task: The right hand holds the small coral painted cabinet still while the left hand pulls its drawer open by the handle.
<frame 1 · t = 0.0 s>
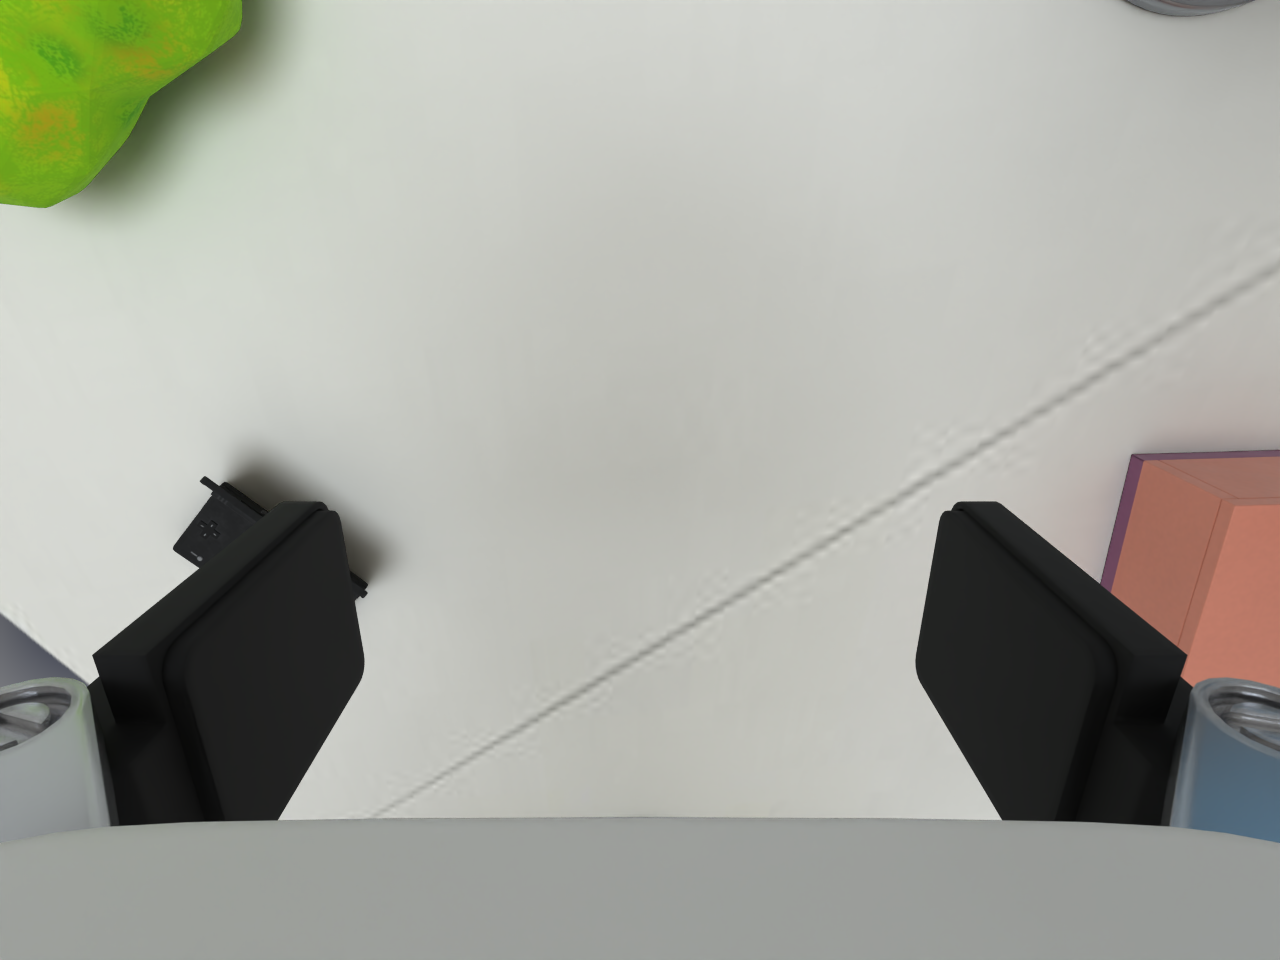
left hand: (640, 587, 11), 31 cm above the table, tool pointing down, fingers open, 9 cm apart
handheld gaming console: (290, 545, 45), on the table
decorative tree: (6, 30, 35), on the table
cabinet: (1177, 569, 46), on the table
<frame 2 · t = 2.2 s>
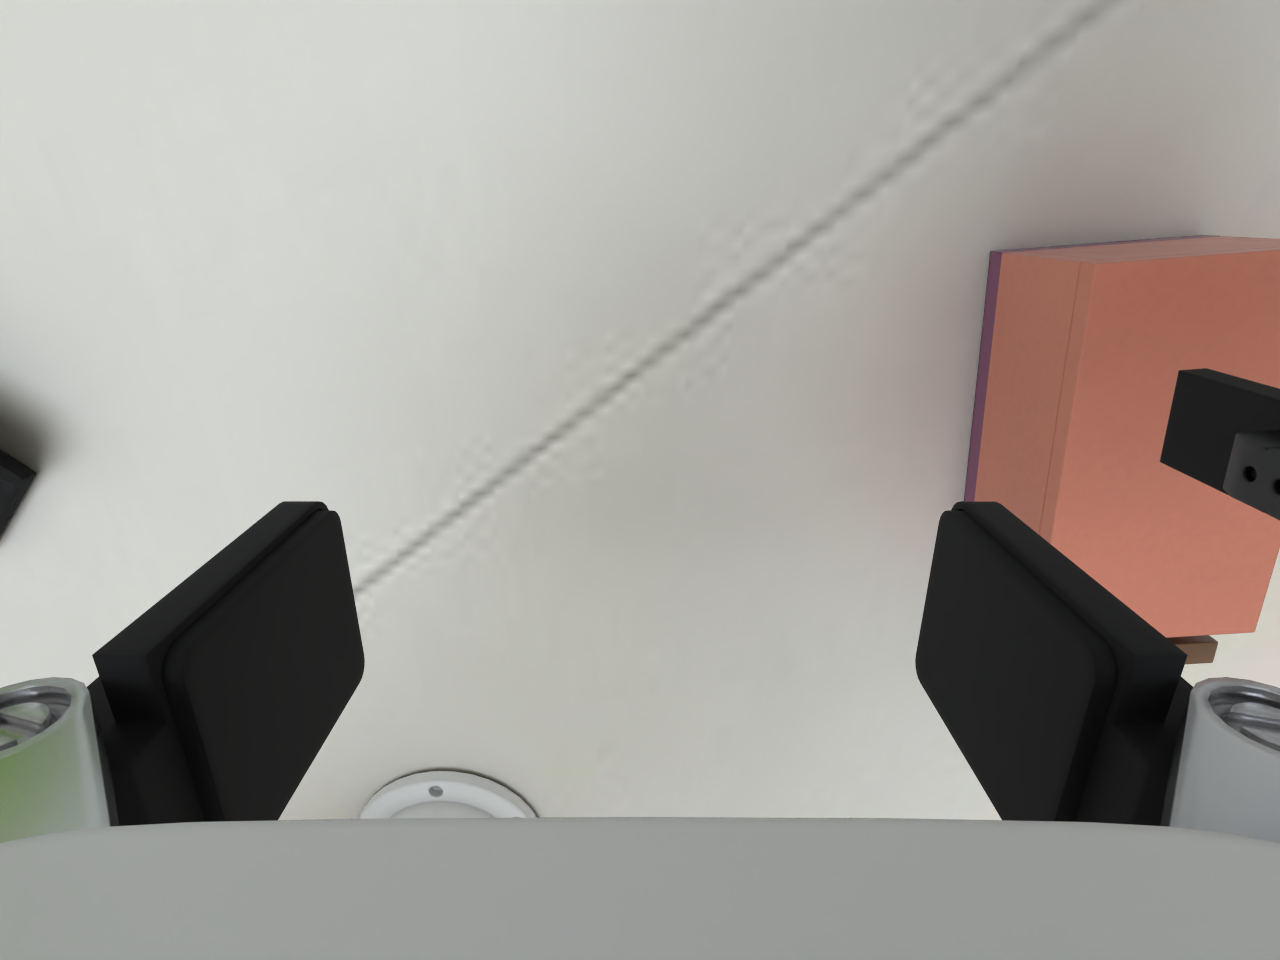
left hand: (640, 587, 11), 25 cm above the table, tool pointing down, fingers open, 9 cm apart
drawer: (1097, 551, 34), point 4 cm above the table, slide at 1.1 cm
cabinet: (1069, 413, 35), on the table
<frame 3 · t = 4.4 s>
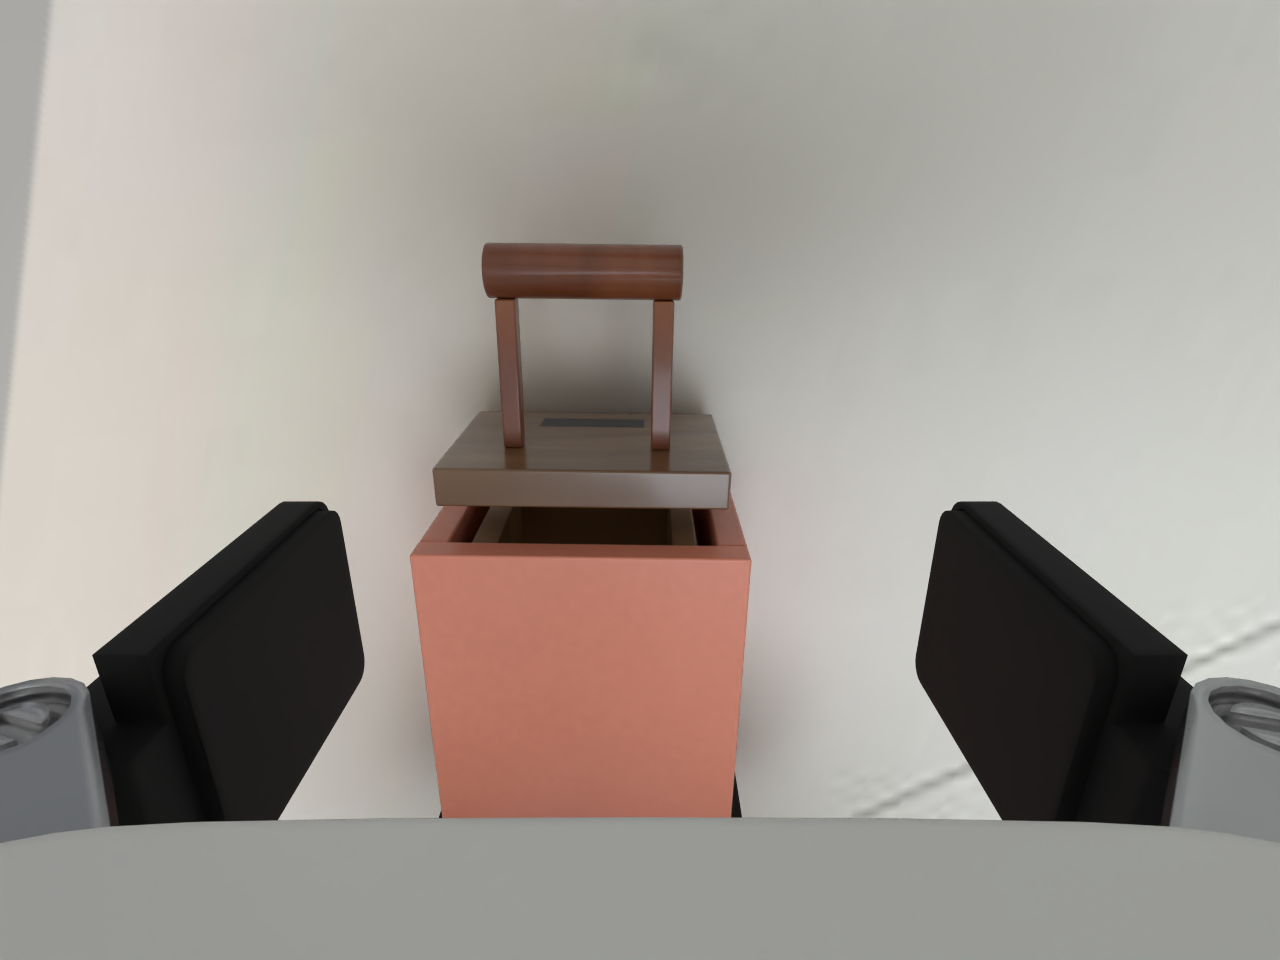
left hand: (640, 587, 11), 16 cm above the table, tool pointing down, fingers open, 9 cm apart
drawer: (591, 564, 24), point 4 cm above the table, slide at 1.1 cm
cabinet: (600, 640, 30), on the table, touching right hand
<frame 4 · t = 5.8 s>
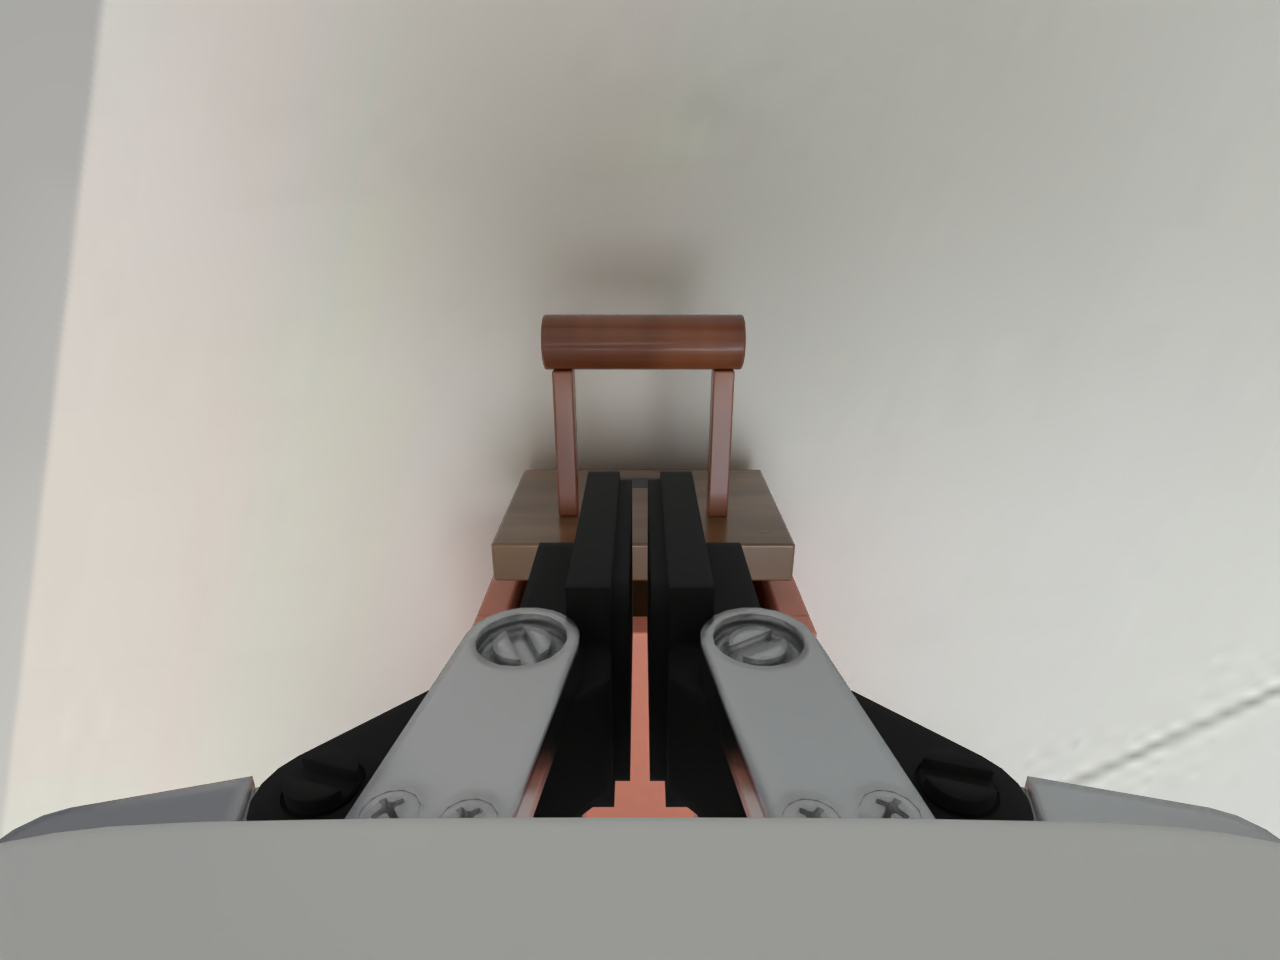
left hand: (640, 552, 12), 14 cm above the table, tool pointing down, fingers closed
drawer: (642, 625, 24), point 4 cm above the table, slide at 1.1 cm
cabinet: (642, 690, 30), on the table, touching right hand
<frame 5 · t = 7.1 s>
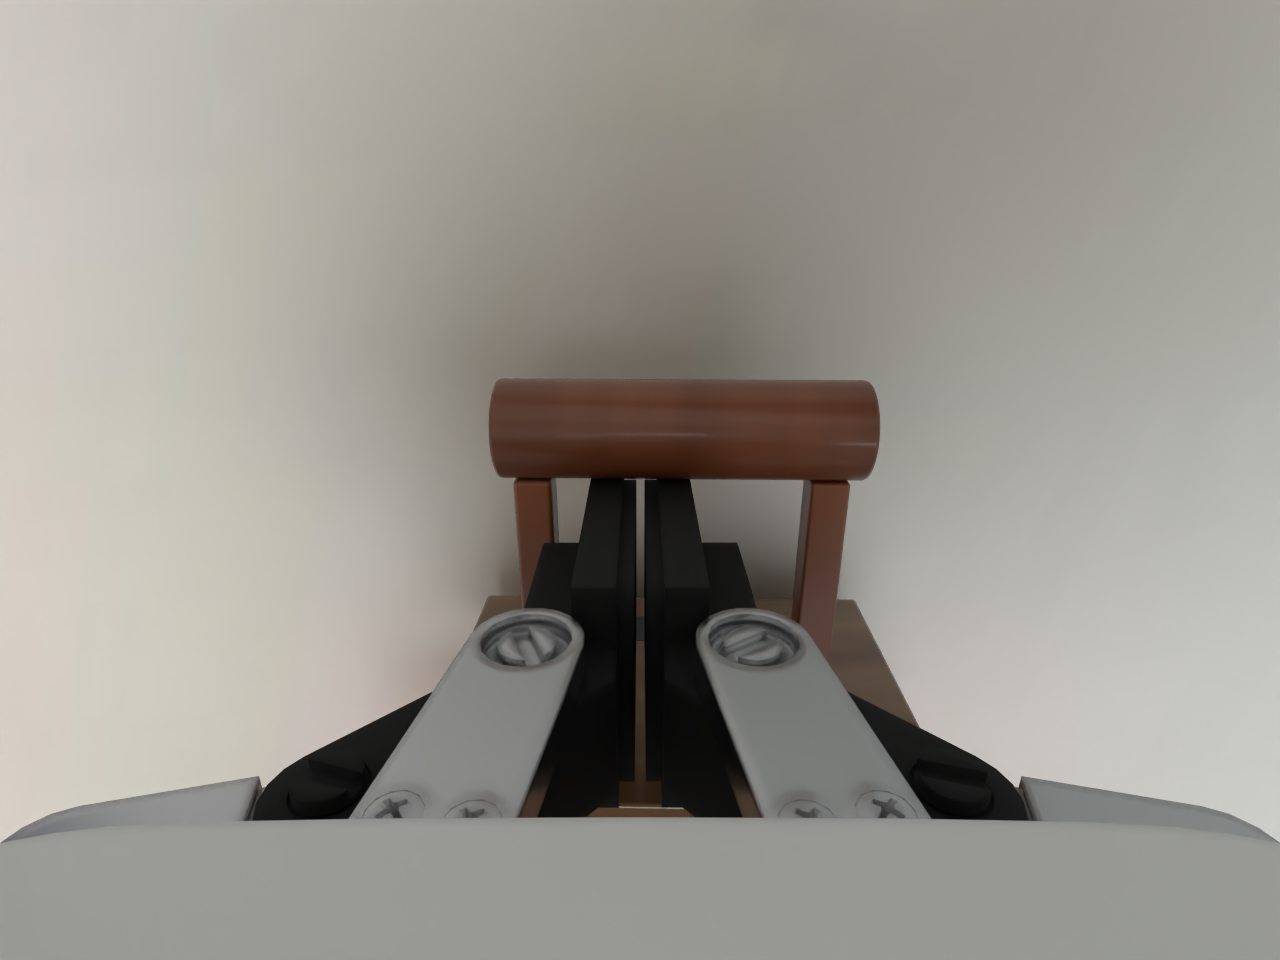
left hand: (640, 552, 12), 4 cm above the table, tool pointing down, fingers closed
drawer: (669, 855, 15), point 4 cm above the table, slide at 1.1 cm, touching left hand
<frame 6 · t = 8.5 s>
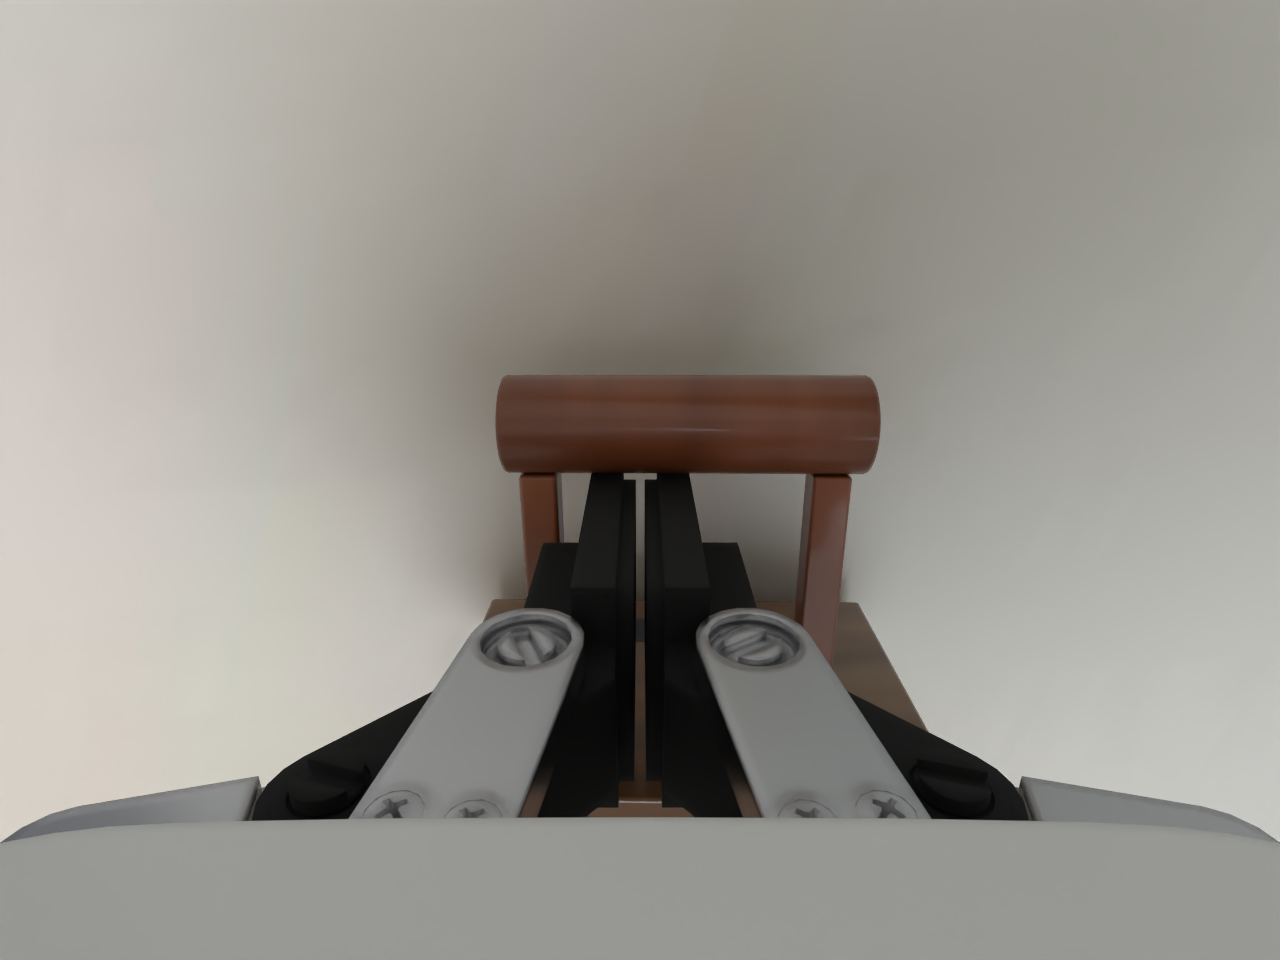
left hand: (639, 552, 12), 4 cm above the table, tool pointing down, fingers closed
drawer: (674, 860, 15), point 4 cm above the table, slide at 7.5 cm, touching left hand
when the right hand's fingers open (3 cm above the table, at t = 10.4 s): cabinet stays where it is, on the table.
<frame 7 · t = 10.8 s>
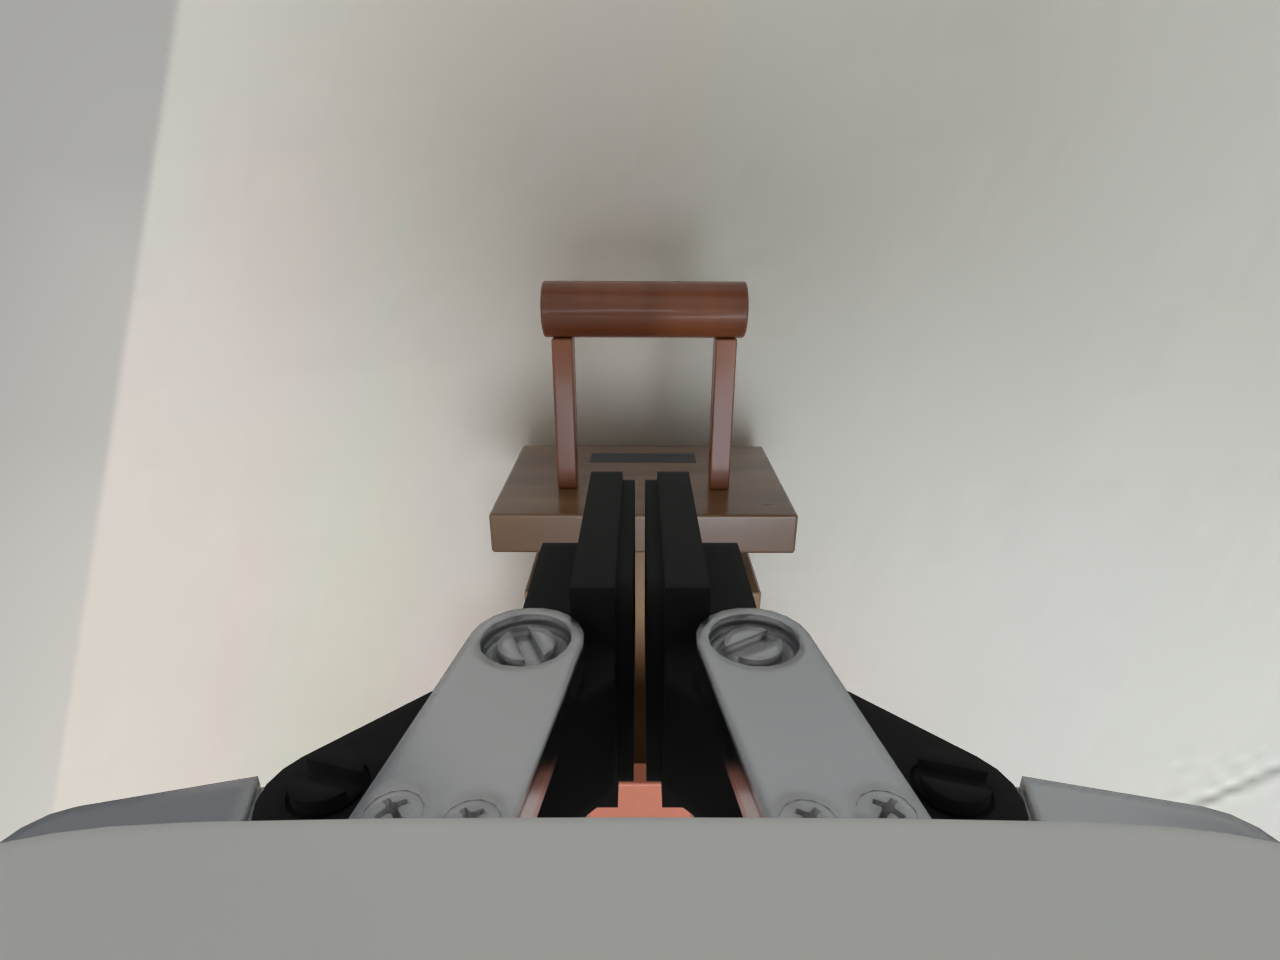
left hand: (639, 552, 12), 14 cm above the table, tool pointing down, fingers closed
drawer: (642, 602, 24), point 4 cm above the table, slide at 7.5 cm
cabinet: (640, 788, 32), on the table
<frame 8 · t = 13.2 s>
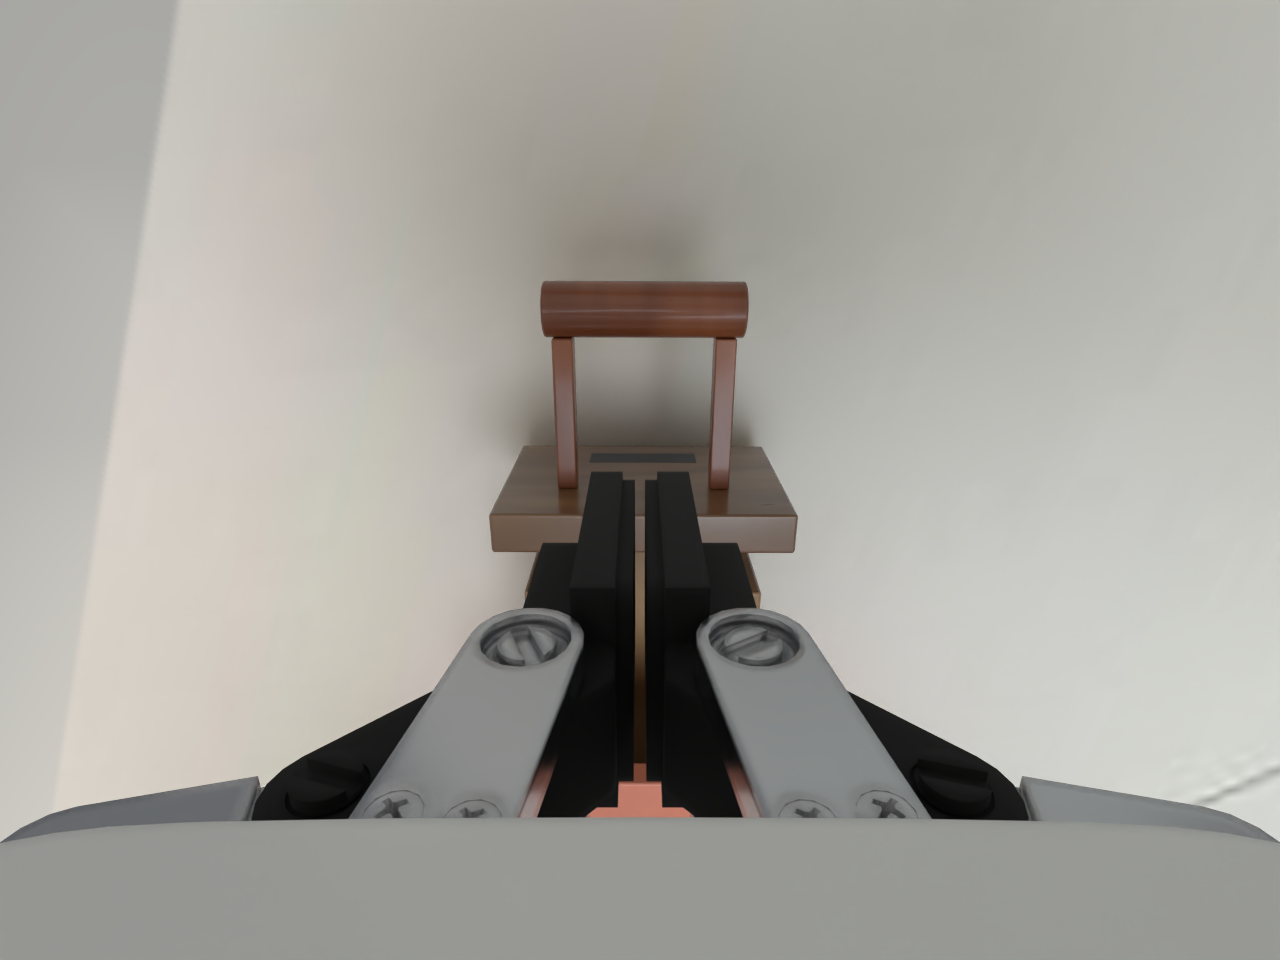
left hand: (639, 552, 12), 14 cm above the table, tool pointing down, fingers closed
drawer: (642, 602, 24), point 4 cm above the table, slide at 7.5 cm
cabinet: (640, 788, 32), on the table
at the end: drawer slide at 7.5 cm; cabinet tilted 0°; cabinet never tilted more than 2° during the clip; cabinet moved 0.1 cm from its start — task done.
